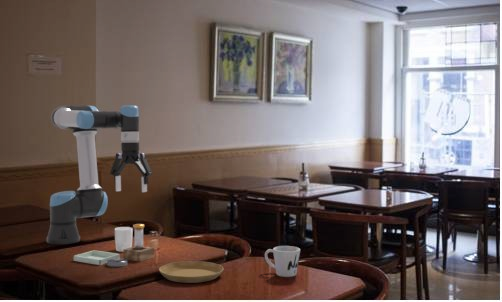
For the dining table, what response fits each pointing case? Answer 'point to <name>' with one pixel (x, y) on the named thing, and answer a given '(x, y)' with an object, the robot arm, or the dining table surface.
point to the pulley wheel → (117, 262)
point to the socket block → (138, 254)
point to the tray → (95, 257)
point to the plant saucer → (191, 271)
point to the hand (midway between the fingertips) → (131, 191)
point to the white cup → (123, 238)
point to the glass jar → (138, 236)
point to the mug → (284, 260)
